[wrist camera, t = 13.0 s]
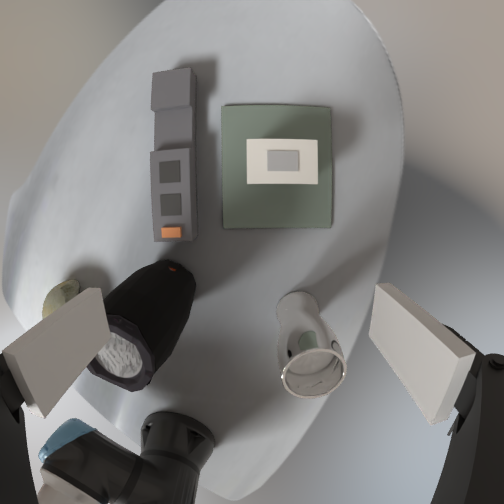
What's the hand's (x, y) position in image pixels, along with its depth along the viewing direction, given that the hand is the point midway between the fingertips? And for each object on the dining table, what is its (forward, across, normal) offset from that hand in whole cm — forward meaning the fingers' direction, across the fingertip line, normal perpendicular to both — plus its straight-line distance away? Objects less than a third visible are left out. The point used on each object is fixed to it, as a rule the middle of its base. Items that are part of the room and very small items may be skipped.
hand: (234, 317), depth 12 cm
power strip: (+25, +9, -11) cm, 29 cm away
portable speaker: (+26, +11, +7) cm, 29 cm away
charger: (+25, -4, -8) cm, 26 cm away
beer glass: (+26, -7, +12) cm, 29 cm away
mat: (+25, -4, -8) cm, 27 cm away
